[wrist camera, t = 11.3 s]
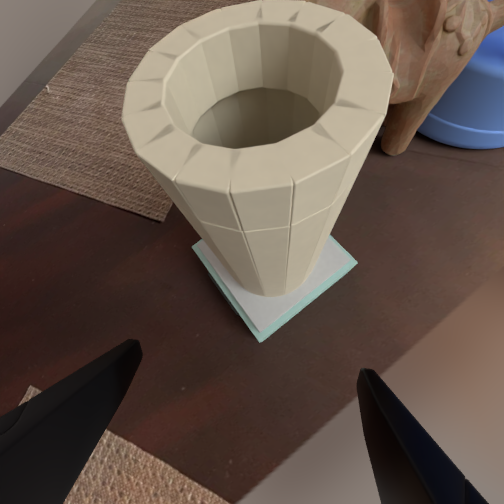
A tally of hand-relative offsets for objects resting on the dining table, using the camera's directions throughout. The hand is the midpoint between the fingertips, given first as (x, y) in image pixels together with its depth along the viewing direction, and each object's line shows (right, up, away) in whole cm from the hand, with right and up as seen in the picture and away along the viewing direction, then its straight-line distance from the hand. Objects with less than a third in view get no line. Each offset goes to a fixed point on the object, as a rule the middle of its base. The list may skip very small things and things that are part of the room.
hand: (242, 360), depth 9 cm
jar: (+2, +4, +10) cm, 11 cm away
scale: (+2, +3, +13) cm, 13 cm away
